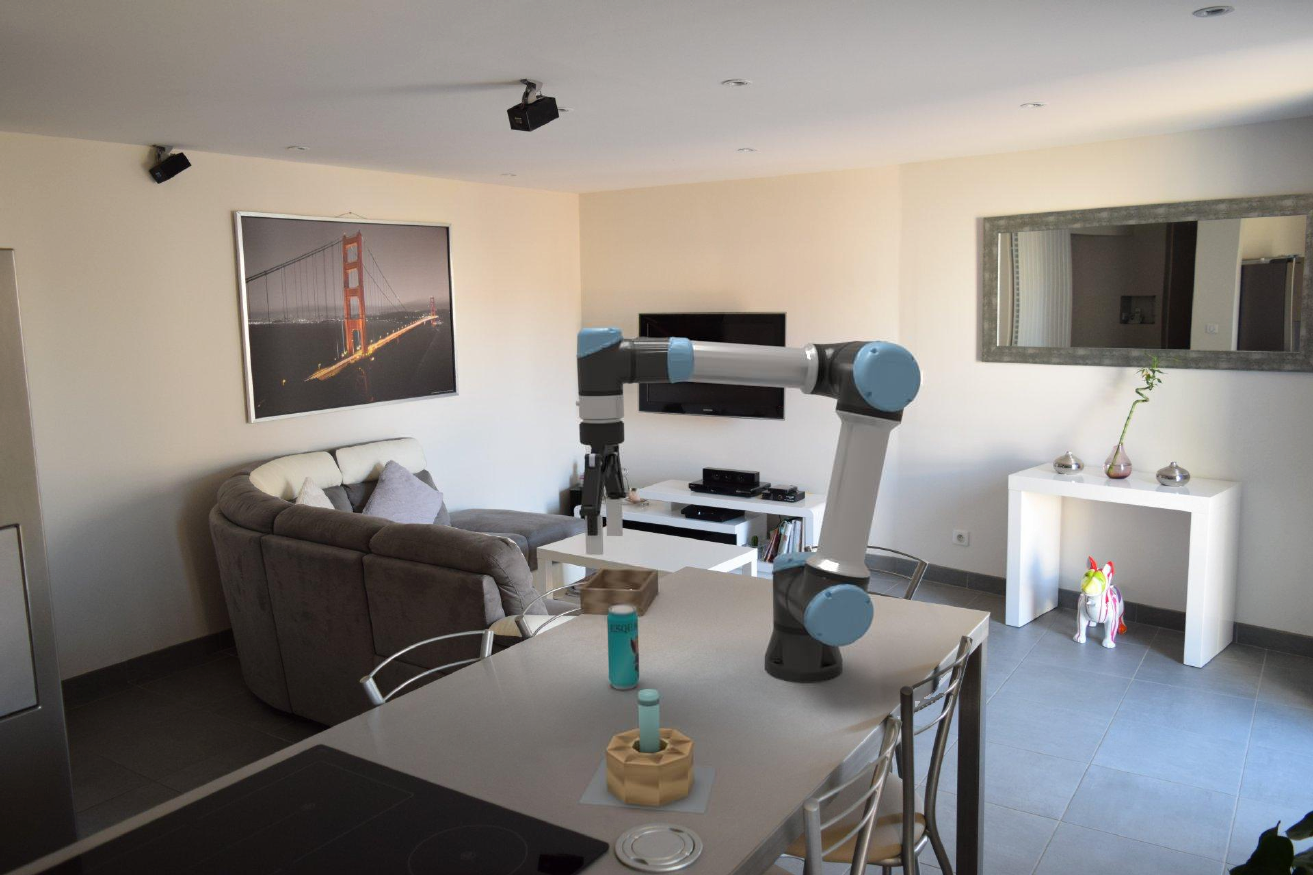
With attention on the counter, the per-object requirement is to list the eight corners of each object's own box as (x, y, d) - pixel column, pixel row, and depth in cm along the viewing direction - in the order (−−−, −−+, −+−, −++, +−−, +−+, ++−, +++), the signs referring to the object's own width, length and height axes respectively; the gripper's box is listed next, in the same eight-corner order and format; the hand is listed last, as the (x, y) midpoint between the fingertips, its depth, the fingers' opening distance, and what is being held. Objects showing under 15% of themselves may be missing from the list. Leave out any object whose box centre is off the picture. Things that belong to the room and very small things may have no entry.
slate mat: (717, 768, 142) (717, 766, 142) (704, 816, 129) (704, 813, 129) (603, 760, 146) (603, 758, 146) (578, 805, 132) (578, 803, 132)
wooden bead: (697, 768, 142) (696, 730, 141) (684, 808, 130) (683, 767, 130) (620, 762, 144) (619, 725, 144) (600, 801, 133) (599, 761, 132)
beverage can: (635, 691, 173) (633, 613, 171) (605, 690, 174) (603, 612, 173) (642, 680, 179) (640, 604, 177) (613, 678, 180) (611, 603, 178)
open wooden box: (658, 593, 237) (657, 570, 236) (642, 616, 218) (641, 591, 218) (601, 591, 240) (600, 568, 239) (580, 613, 221) (579, 589, 221)
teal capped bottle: (663, 779, 139) (660, 689, 137) (659, 789, 136) (656, 697, 134) (642, 777, 139) (640, 688, 138) (638, 788, 136) (635, 696, 135)
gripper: (598, 413, 169) (602, 528, 171) (557, 428, 145) (562, 562, 147) (639, 413, 167) (642, 529, 170) (604, 428, 143) (608, 563, 146)
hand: (605, 544), depth 159 cm, fingers open, 13 cm apart
